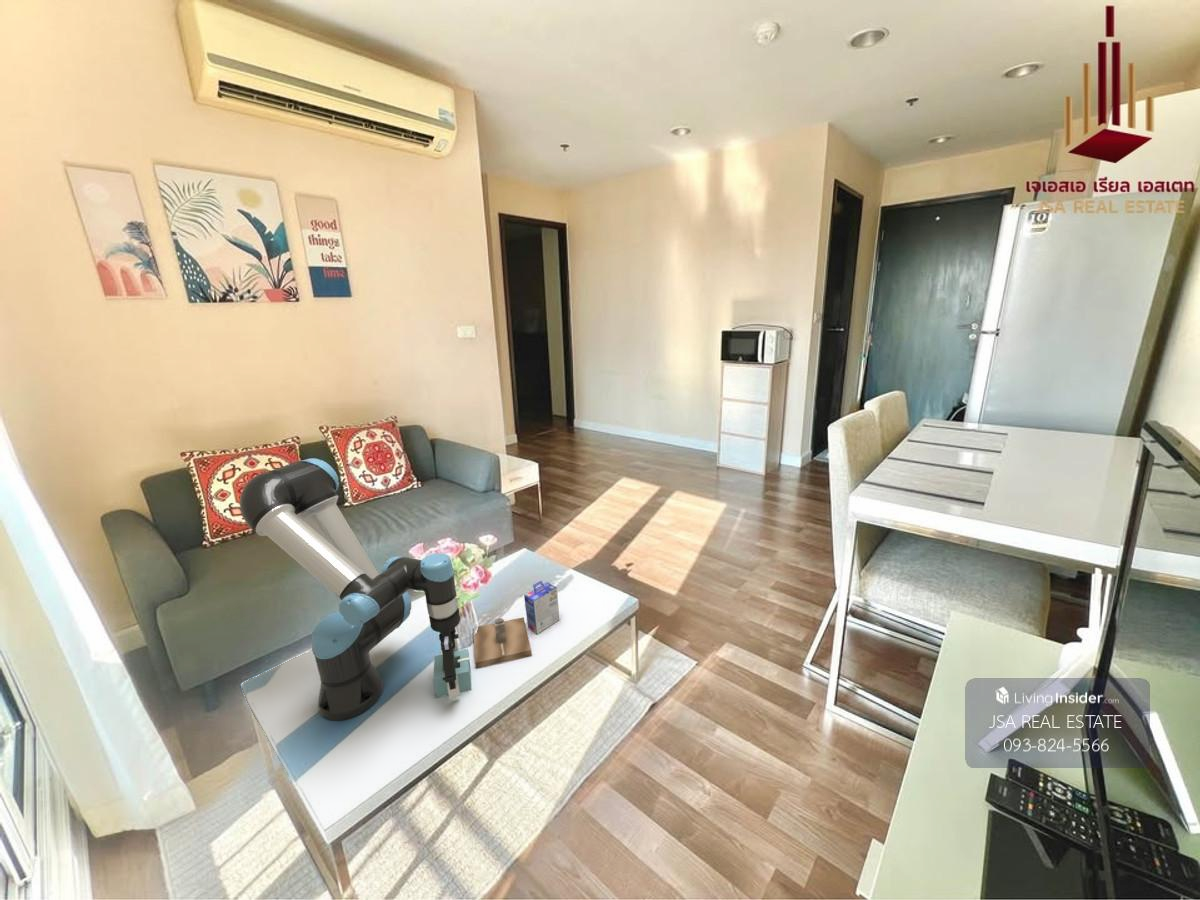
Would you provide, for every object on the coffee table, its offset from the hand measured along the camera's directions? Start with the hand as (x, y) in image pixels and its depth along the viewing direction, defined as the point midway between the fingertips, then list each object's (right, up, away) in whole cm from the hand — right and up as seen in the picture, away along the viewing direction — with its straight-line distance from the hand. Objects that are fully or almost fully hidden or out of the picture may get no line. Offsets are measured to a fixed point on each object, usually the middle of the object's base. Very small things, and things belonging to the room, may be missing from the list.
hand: (454, 677), depth 127 cm
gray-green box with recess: (0, -1, +1) cm, 1 cm away
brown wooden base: (+10, +3, +14) cm, 18 cm away
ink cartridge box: (+22, +6, +23) cm, 32 cm away
